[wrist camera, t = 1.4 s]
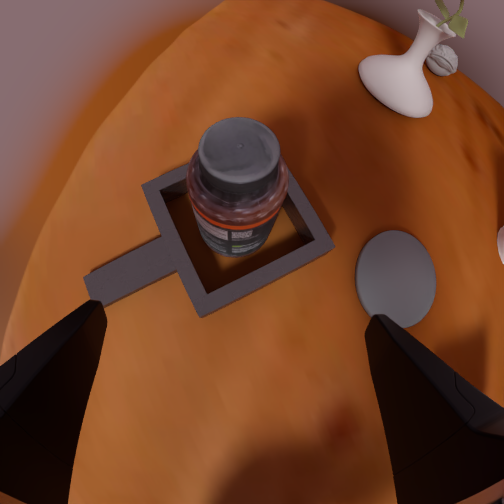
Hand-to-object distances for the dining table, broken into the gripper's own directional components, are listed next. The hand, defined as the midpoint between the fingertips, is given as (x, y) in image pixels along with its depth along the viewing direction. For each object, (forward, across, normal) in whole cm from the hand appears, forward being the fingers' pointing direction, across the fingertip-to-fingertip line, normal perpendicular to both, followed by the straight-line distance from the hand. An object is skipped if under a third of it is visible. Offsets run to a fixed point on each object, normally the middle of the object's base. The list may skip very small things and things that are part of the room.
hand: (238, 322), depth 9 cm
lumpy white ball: (+38, -32, -19) cm, 53 cm away
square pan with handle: (+14, +4, +5) cm, 15 cm away
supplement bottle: (+16, 0, +4) cm, 16 cm away
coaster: (+12, -15, +7) cm, 20 cm away
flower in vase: (+30, -19, -10) cm, 37 cm away
